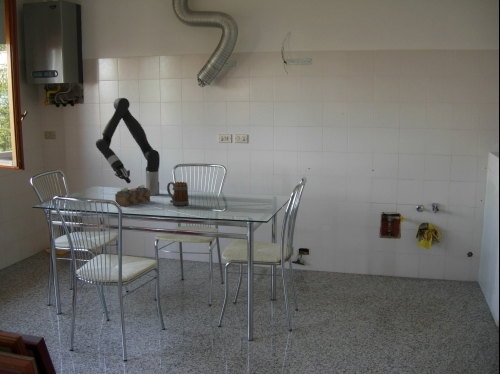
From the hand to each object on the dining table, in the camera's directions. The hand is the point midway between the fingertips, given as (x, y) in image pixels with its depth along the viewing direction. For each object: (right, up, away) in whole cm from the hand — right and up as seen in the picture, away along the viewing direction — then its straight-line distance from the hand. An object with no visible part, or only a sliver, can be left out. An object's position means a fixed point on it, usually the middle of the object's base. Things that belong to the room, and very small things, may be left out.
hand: (129, 182), depth 333 cm
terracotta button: (+2, -6, -1) cm, 7 cm away
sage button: (-2, -6, -8) cm, 10 cm away
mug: (+32, -15, -2) cm, 36 cm away
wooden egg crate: (+2, -14, +1) cm, 14 cm away
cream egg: (+7, -4, +6) cm, 10 cm away
